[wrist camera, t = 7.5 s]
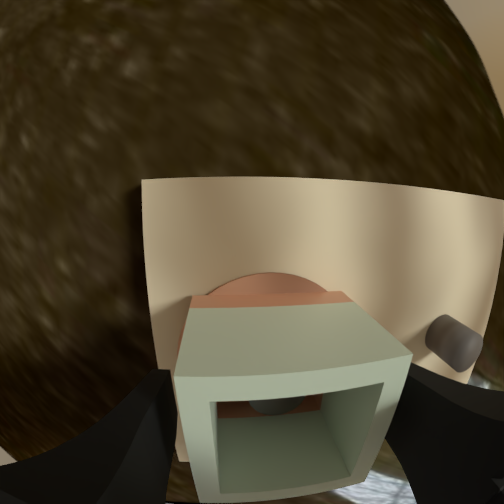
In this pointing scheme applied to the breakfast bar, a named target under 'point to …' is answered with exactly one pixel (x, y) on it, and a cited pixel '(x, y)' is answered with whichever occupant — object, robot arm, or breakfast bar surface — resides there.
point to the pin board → (326, 259)
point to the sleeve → (284, 393)
